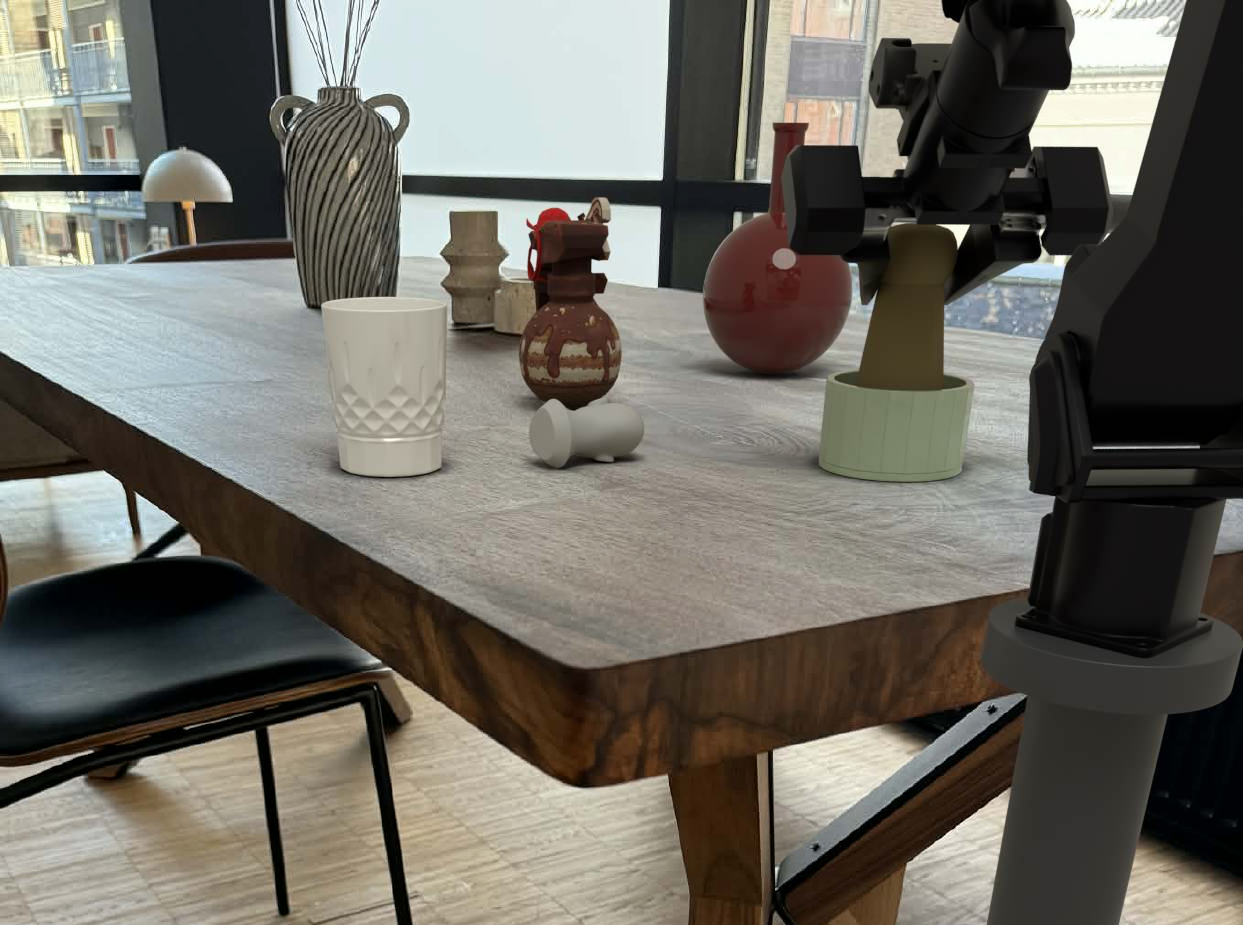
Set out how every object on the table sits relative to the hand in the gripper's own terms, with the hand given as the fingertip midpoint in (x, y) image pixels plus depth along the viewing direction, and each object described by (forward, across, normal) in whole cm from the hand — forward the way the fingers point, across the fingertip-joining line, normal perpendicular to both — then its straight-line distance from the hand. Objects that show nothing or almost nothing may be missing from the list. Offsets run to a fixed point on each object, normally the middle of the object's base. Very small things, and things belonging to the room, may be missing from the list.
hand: (903, 299), depth 93 cm
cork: (+4, 0, +6) cm, 7 cm away
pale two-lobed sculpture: (+8, +20, +6) cm, 23 cm away
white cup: (+7, +33, +7) cm, 35 cm away
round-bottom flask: (+35, 0, -21) cm, 41 cm away
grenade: (+23, +20, -9) cm, 32 cm away
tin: (+6, 0, +8) cm, 10 cm away
